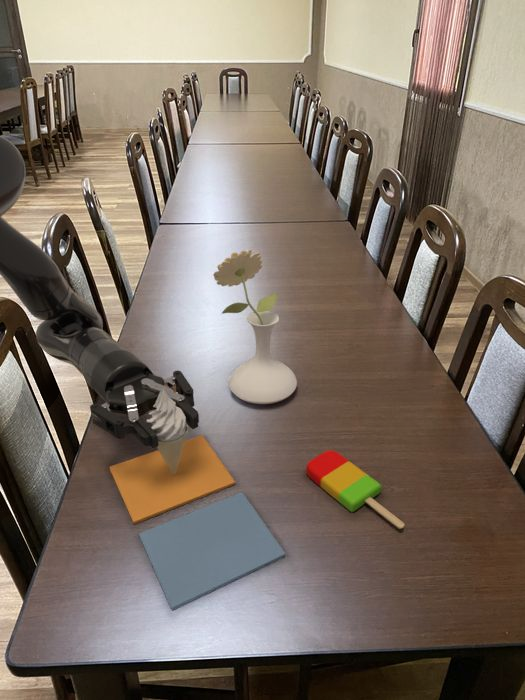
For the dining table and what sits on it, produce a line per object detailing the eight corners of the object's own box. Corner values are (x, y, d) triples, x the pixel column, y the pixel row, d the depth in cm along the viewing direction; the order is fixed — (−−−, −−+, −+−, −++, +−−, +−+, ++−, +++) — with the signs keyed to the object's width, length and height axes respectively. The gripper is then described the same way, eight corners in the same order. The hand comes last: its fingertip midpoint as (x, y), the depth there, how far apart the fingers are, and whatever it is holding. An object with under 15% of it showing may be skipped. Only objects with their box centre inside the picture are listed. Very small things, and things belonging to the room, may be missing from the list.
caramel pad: (134, 524, 66) (133, 521, 66) (109, 469, 74) (109, 466, 74) (235, 484, 72) (235, 481, 72) (202, 437, 80) (202, 434, 80)
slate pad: (171, 610, 57) (171, 608, 56) (139, 536, 65) (138, 533, 65) (285, 556, 62) (285, 553, 62) (242, 494, 71) (242, 491, 70)
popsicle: (330, 456, 77) (331, 446, 76) (416, 521, 67) (418, 510, 66) (302, 473, 74) (302, 463, 73) (387, 544, 64) (389, 533, 63)
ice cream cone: (148, 482, 72) (132, 393, 64) (167, 456, 76) (155, 370, 68) (181, 492, 70) (170, 403, 62) (199, 466, 74) (190, 378, 66)
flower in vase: (290, 369, 96) (295, 234, 83) (302, 408, 86) (309, 262, 73) (217, 374, 95) (210, 237, 82) (221, 414, 85) (214, 266, 72)
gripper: (61, 368, 72) (119, 432, 61) (155, 334, 80) (222, 386, 69) (71, 412, 76) (127, 480, 65) (160, 376, 84) (224, 431, 72)
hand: (176, 431), depth 67 cm, fingers closed on ice cream cone, 5 cm apart
